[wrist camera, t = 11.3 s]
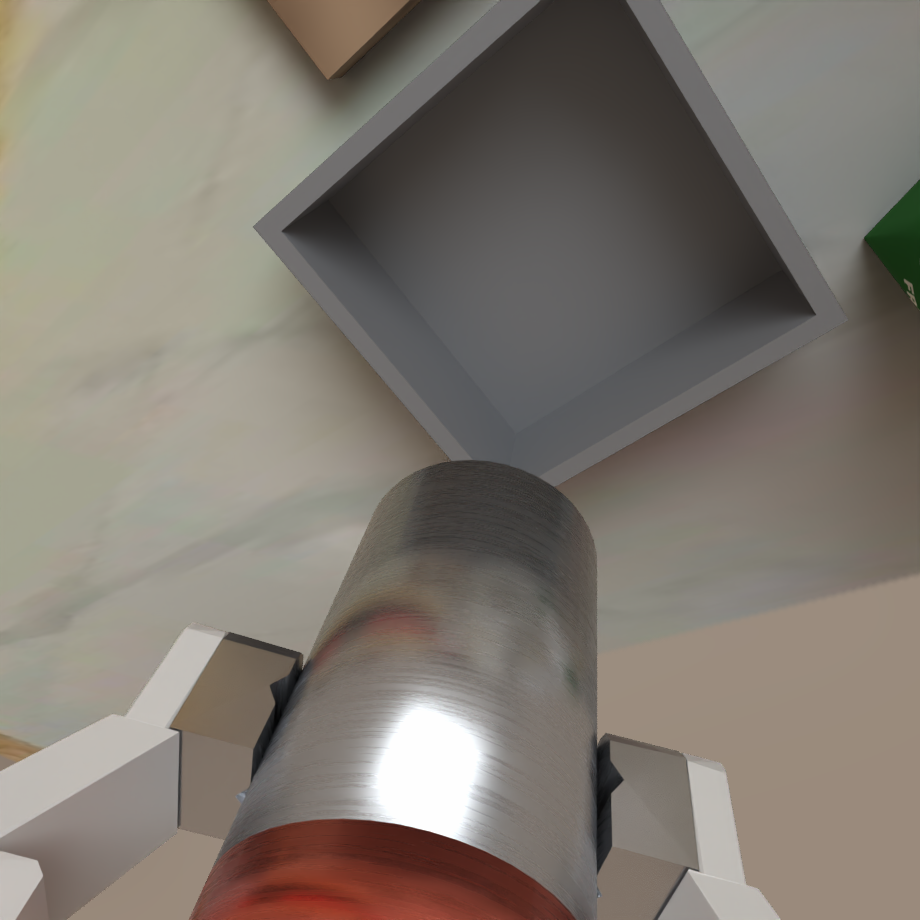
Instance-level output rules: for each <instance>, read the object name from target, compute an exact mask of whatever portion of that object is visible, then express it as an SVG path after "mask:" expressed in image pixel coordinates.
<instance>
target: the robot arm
mask: <svg viewBox="0 0 920 920" xmlns="http://www.w3.org/2000/svg"><path fill="white" fill-rule="evenodd" d="M303 656H304V655H303V654H302V653H299V652H296V651H293V650H289V649H286V648H282V647H279V646H276V645H272V644H269V643H265V642H262V641H259V640H255V639H252V638H248V637H245V636H242V635H238V634H235V633H231V632H230V633H229V632H226V631H222V630H219V629H215V628H212V627H209V626H205V625H202V624H198V623H195V622H193V623H191V624H190V625H189V626H188V627H186V628H185V629H184V630H183V631H182V632H181V634H180V635H179V637H178V638H177V640H176V641H175V642H174V644H173V645H172V647H171V648H170V650H169V651H168V653H167V654H166V656H165V657H164V659H163V660H162V661H161V663H160V664H159V666H158V667H157V669H156V670H155V672H154V673H153V675H152V676H151V677H150V679H149V680H148V682H147V683H146V685H145V686H144V688H143V689H142V691H141V692H140V694H139V695H138V696H137V698H136V699H135V701H134V702H133V704H132V705H131V707H130V708H129V710H128V711H127V713H126V714H125V715H124V716H120V715H116V714H111V715H109V716H107V717H105V718H103V719H101V720H99V721H97V722H95V723H93V724H91V725H89V726H87V727H85V728H83V729H82V730H80V731H78V732H76V733H74V734H72V735H70V736H68V737H66V738H64V739H62V740H60V741H58V742H56V743H54V744H52V745H50V746H48V747H46V748H45V749H43V750H41V751H39V752H37V753H35V754H33V755H31V756H29V757H27V758H25V759H23V760H21V761H19V762H17V763H15V764H13V765H11V766H9V767H8V768H6V769H4V770H2V771H0V920H67V919H68V918H69V917H70V916H71V915H73V914H74V913H75V912H77V911H78V910H79V909H81V908H82V907H83V906H84V905H86V904H87V903H88V902H89V901H91V900H92V899H93V898H95V897H96V896H97V895H98V894H100V893H101V892H102V891H103V890H105V889H106V888H107V887H109V886H110V885H111V884H113V883H114V882H115V881H116V880H118V879H119V878H120V877H121V876H123V875H124V874H125V873H126V872H128V871H129V870H130V869H131V868H133V867H134V866H136V865H137V864H138V863H139V862H141V861H142V860H143V859H144V858H146V857H147V856H148V855H150V854H151V853H152V852H153V851H155V850H156V849H157V848H159V847H160V846H161V845H162V844H164V843H165V842H166V841H167V840H169V839H170V838H171V837H173V836H174V835H175V834H176V833H177V828H178V829H182V830H186V831H190V832H195V833H199V834H203V835H207V836H212V837H215V838H219V839H223V840H225V839H226V837H227V835H228V832H229V830H230V828H231V826H232V824H233V821H234V819H235V817H236V815H237V813H238V810H239V808H240V806H241V804H242V802H243V799H244V797H245V795H246V793H247V791H248V789H249V786H250V784H251V782H252V780H253V778H254V775H255V773H256V771H257V769H258V767H259V764H260V762H261V760H262V758H263V756H264V753H265V751H266V749H267V747H268V745H269V742H270V740H271V738H272V736H273V734H274V731H275V729H276V727H277V725H278V723H279V720H280V718H281V716H282V714H283V712H284V709H285V707H286V705H287V703H288V701H289V698H290V696H291V694H292V692H293V690H294V687H295V685H296V683H297V681H298V679H299V676H300V674H301V672H302V666H303ZM597 920H781V919H780V917H779V916H778V914H777V913H776V912H775V910H774V909H773V908H772V906H771V905H770V904H769V902H768V901H767V899H766V898H765V897H764V896H763V894H762V893H761V891H760V890H759V889H758V888H755V887H752V886H749V885H746V880H745V874H744V869H743V863H742V857H741V852H740V846H739V842H738V835H737V830H736V824H735V819H734V813H733V807H732V802H731V796H730V791H729V786H728V780H727V774H726V770H725V768H724V767H723V765H722V764H721V763H720V762H716V761H712V760H709V759H705V758H701V757H697V756H693V755H689V754H685V753H679V752H678V751H675V750H671V749H667V748H663V747H659V746H655V745H651V744H647V743H644V742H640V741H635V740H632V739H628V738H624V737H619V736H616V735H612V734H608V733H605V735H604V736H603V737H602V738H601V739H600V741H599V743H598V746H597Z"/></svg>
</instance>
